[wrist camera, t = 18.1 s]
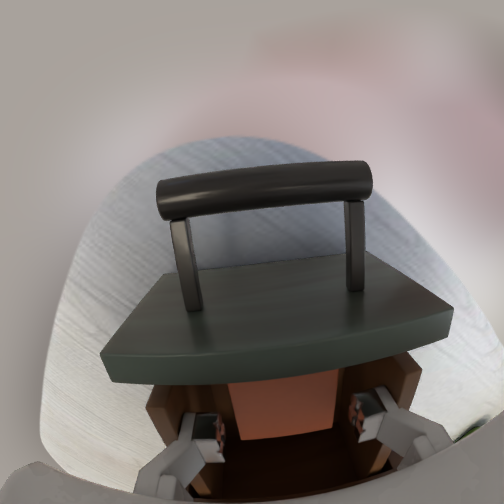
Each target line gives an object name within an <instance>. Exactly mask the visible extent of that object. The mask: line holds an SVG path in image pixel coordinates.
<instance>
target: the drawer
mask: <svg viewBox="0 0 504 504" xmlns="http://www.w3.org/2000/svg"><path fill="white" fill-rule="evenodd" d="M372 188H373V179H372V173H371V170H370V167H369V166H368V164H367V163H366V162H364V161H326V162H307V163H291V164H279V165H267V166H257V167H247V168H239V169H230V170H223V171H215V172H208V173H201V174H195V175H188V176H182V177H176V178H170V179H165V180H160V181H159V182H158V184H157V188H156V202H157V207H158V211H159V214H160V216H161V218H162V219H163V220H164V221H169V220H172V221H170V223H169V224H170V230H171V237H172V243H173V248H174V254H175V260H176V265H177V270H178V273H168V274H163V275H162V277H161V278H160V279H159V280H158V281H157V282H156V284H155V285H154V286H153V287H152V288H151V290H150V291H149V292H148V293H147V294H146V296H145V297H144V298H143V299H142V300H141V302H140V303H139V304H138V305H137V306H136V308H135V309H134V310H133V311H132V313H131V314H130V315H129V316H128V318H127V319H126V320H125V321H124V323H123V324H122V325H121V326H120V328H119V329H118V330H117V331H116V333H115V334H114V335H113V337H112V338H111V339H110V340H109V342H108V343H107V344H106V346H105V347H104V348H103V350H102V351H101V352H100V357H101V359H102V361H103V364H104V366H105V368H106V370H107V373H108V375H109V377H110V379H111V381H112V382H116V383H129V384H147V385H154V387H153V389H152V392H151V394H150V397H149V399H148V402H147V404H146V410H147V412H148V414H149V416H150V418H151V420H152V422H153V424H154V426H155V427H156V429H157V431H158V433H159V435H160V436H161V438H162V440H163V441H164V443H165V445H166V447H168V446H169V445H170V444H171V443H172V442H173V441H175V440H176V441H178V437H179V433H180V428H181V423H182V419H183V415H184V413H185V412H220V413H221V415H222V422H223V423H224V424H225V428H226V443H225V444H224V447H225V449H226V458H225V462H221V463H206V464H205V465H204V466H203V468H202V469H201V470H200V471H199V473H198V474H197V475H196V476H195V477H194V479H193V480H192V481H191V482H190V483H191V485H192V486H193V487H194V489H195V490H196V492H197V493H198V494H199V496H200V497H201V498H202V499H255V498H269V497H279V496H287V495H294V494H301V493H307V492H313V491H318V490H323V489H328V488H332V487H336V486H340V485H344V484H348V483H352V482H355V481H359V480H362V479H366V478H369V477H372V476H375V475H378V474H379V473H380V472H381V470H382V468H383V466H384V464H385V462H386V460H387V458H388V456H389V454H390V452H391V450H392V449H390V448H389V447H387V446H386V445H384V444H383V443H381V442H380V441H378V440H377V439H376V438H374V439H371V440H367V441H364V442H360V443H358V442H357V439H356V437H355V434H354V429H355V427H354V426H352V425H351V424H350V421H349V417H348V407H349V405H350V404H351V401H350V396H351V394H352V393H356V392H360V391H363V390H367V389H370V388H374V387H378V386H381V385H384V386H386V388H387V389H388V391H389V393H390V394H391V396H392V398H393V399H394V401H395V402H396V404H397V406H398V407H399V409H400V408H404V409H406V410H408V411H409V408H410V406H411V403H412V400H413V397H414V395H415V392H416V389H417V386H418V383H419V379H420V376H421V373H422V368H421V367H420V366H419V365H418V364H417V362H416V361H415V360H414V359H413V358H412V357H411V355H410V354H409V353H408V352H407V351H409V350H413V349H416V348H419V347H422V346H425V345H428V344H431V343H433V342H436V341H439V340H442V339H444V338H447V337H448V334H449V330H450V325H451V321H452V316H453V311H454V308H453V307H452V306H451V305H449V304H448V303H446V302H445V301H444V300H442V299H441V298H439V297H438V296H436V295H435V294H433V293H432V292H430V291H429V290H427V289H426V288H424V287H423V286H421V285H420V284H418V283H417V282H415V281H414V280H412V279H411V278H409V277H407V276H406V275H404V274H403V273H401V272H400V271H398V270H396V269H395V268H393V267H392V266H390V265H388V264H387V263H385V262H384V261H382V260H380V259H379V258H377V257H375V256H374V255H372V254H370V253H369V252H367V251H365V216H364V202H363V201H361V200H367V199H368V198H369V197H370V196H371V193H372ZM342 201H344V217H345V242H346V253H345V254H337V255H329V256H320V257H312V258H304V259H295V260H287V261H278V262H270V263H261V264H252V265H243V266H234V267H225V268H216V269H207V270H197V265H196V259H195V253H194V247H193V240H192V234H191V227H190V220H189V218H190V217H198V216H205V215H213V214H221V213H229V212H237V211H246V210H255V209H264V208H274V207H284V206H294V205H305V204H317V203H329V202H342ZM335 369H339V374H338V384H337V394H336V402H335V410H334V418H333V425H332V428H328V429H324V430H319V431H313V432H308V433H302V434H295V435H289V436H281V437H273V438H263V439H251V440H241V438H240V434H239V430H238V426H237V422H236V419H235V415H234V410H233V406H232V402H231V398H230V394H229V390H228V385H227V384H229V383H243V382H254V381H264V380H273V379H281V378H288V377H295V376H302V375H308V374H314V373H319V372H325V371H330V370H335Z"/></svg>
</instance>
